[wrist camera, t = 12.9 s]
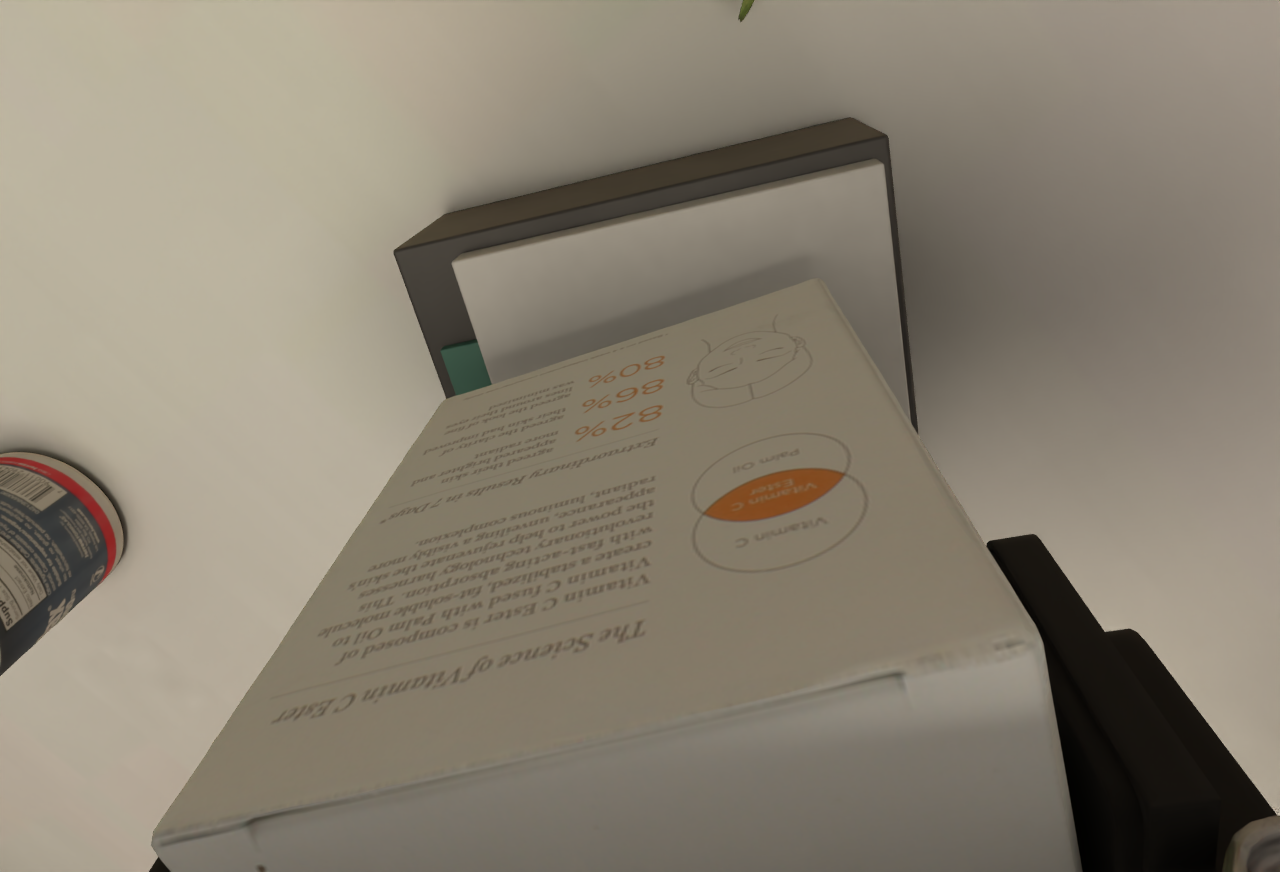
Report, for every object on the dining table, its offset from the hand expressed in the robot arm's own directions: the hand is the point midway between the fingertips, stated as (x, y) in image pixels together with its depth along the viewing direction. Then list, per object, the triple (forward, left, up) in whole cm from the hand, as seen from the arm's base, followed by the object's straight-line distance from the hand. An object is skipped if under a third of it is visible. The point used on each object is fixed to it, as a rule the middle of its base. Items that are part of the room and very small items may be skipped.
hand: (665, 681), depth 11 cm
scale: (0, 0, -14) cm, 14 cm away
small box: (0, 0, -7) cm, 7 cm away
